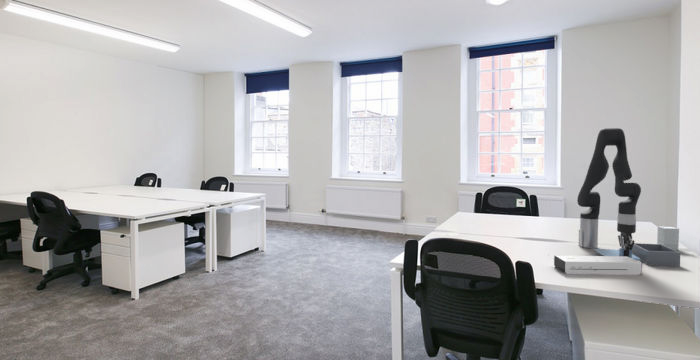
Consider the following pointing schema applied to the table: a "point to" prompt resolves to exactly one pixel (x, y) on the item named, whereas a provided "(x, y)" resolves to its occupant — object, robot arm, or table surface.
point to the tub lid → (616, 253)
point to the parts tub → (656, 254)
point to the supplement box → (668, 237)
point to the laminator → (598, 265)
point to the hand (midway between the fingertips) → (625, 256)
